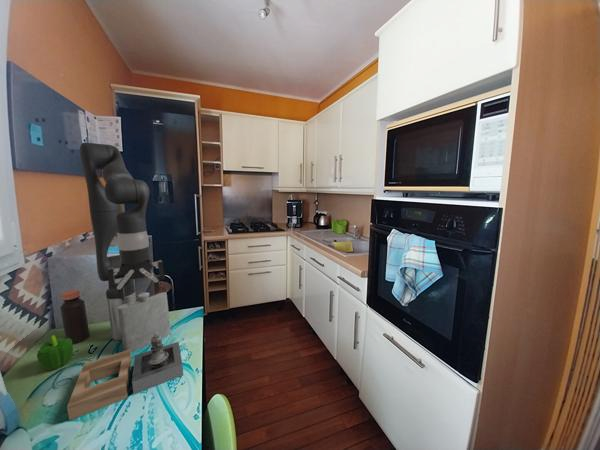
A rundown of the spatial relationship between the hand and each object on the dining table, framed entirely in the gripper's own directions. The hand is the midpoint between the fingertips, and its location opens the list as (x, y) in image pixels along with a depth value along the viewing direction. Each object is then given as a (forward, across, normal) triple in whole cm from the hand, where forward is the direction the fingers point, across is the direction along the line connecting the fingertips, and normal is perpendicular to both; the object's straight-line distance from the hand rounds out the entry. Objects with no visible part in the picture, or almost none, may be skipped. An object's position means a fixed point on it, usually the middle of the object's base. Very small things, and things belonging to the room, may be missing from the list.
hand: (140, 295), depth 74 cm
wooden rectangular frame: (+26, +11, +2) cm, 28 cm away
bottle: (+27, +24, -33) cm, 49 cm away
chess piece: (+24, -3, +4) cm, 25 cm away
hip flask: (+26, 0, -15) cm, 30 cm away
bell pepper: (+26, +26, -18) cm, 41 cm away
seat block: (+25, -3, +4) cm, 26 cm away
